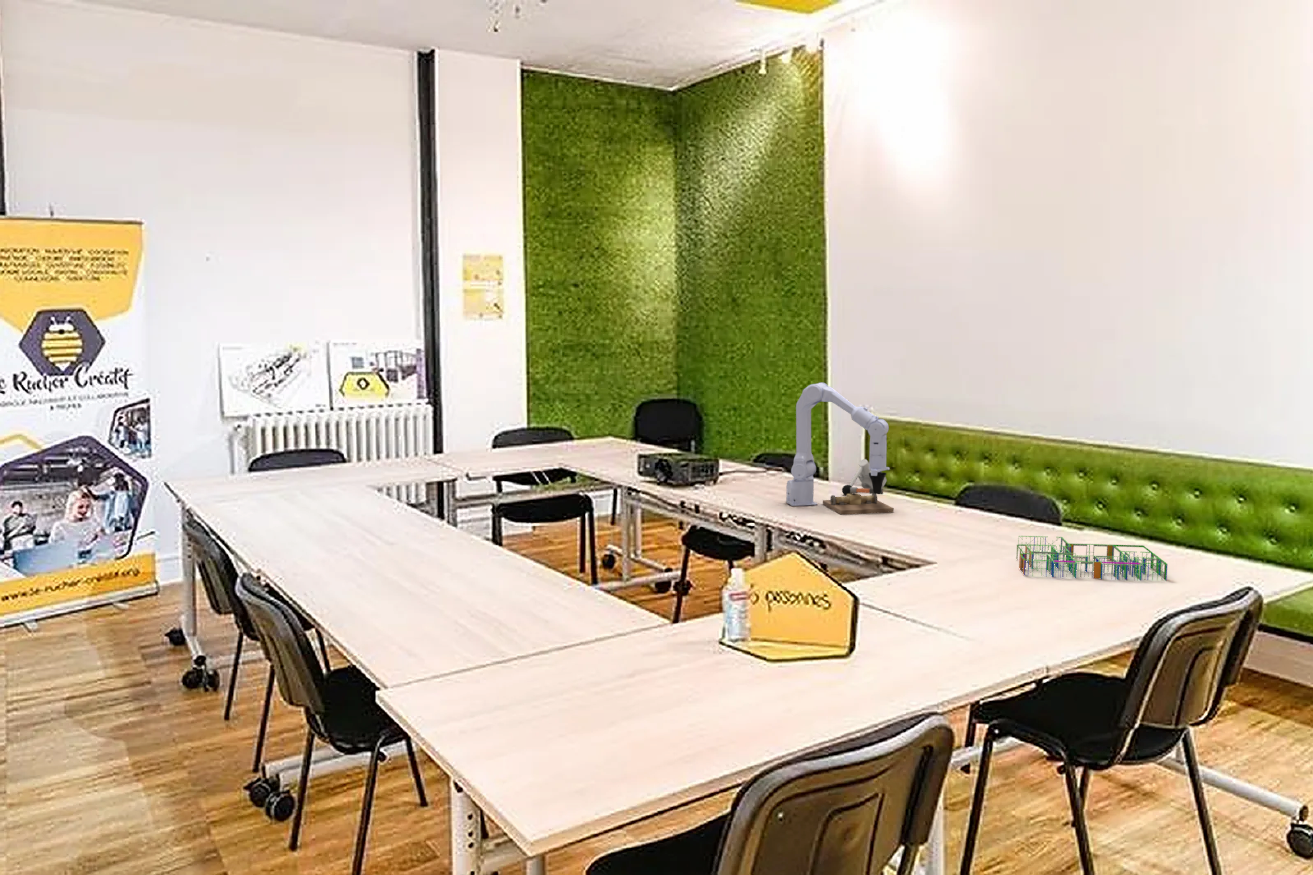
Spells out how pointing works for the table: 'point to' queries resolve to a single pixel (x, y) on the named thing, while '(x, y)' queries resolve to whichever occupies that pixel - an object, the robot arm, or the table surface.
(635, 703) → the table surface
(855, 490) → the valve lever
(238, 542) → the table surface
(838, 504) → the valve board
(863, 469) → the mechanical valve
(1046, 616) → the table surface
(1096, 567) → the house model
